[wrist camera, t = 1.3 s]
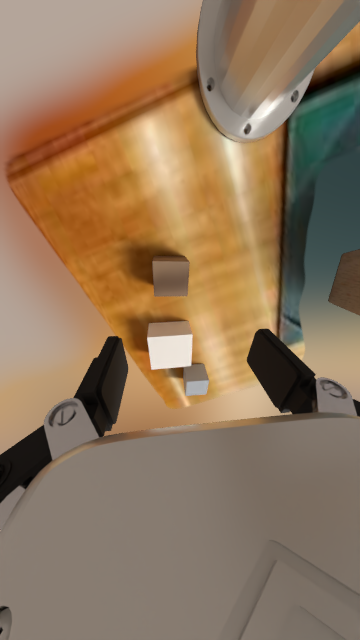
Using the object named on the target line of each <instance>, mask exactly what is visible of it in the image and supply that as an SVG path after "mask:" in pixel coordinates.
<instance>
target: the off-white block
mask: <svg viewBox="0 0 360 640" xmlns="http://www.w3.org/2000/svg"><path fill="white" fill-rule="evenodd" d="M147 340H148V347H149V354H150V361H151V368H152V370H153V369H164V368H176V367H187V366H191V356H192V331H191V328H190V325H189V321H177V322H161V323H149V327H148V335H147Z"/></svg>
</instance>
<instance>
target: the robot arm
mask: <svg viewBox="0 0 360 640" xmlns="http://www.w3.org/2000/svg"><path fill="white" fill-rule="evenodd" d="M359 21H360V0H203V3H202V7H201V12H200V19H199V25H198V32H197V50H196V58H197V75H198V80H199V86H200V92H201V95H202V98H203V102H204V105H205V108H206V110H207V112H208V114H209V116H210V118H211V120H212V122H213V123H214V124H215V126H216V127H217V128H218V130H219V131H220V132H222V133H223V134H224V135H225V136H226V137H228V138H230V139H232V140H234V141H236V142H242V143H249V142H255V141H258V140H260V139H263V138H265V137H266V136H268V135H269V134H271V133H272V132H274V131H275V130H276V129H277V128H278V127H279V126H280V125H282V124H283V122H284V121H285V120H286V119H287V118H288V117H289V116H290V115H291V113H292V112H293V111H294V109H295V108H296V106H297V105H298V103H299V102H300V100H301V98H302V96H303V94H304V92H305V90H306V89H307V87H308V85H309V82H310V80H311V77H312V75H313V72H314V69H315V67H316V66H317V65H318V64H319V63H320V62H321V61H322V60H323V59H324V58H325V57H326V56H327V55H328V54H329V53H330V52H331V51H332V50H333V49H334V47H335V46H336V45H337V44H338V43H339V42H340V41H341V40H342V39H343V38H344V37H345V36H346V35H347V34H348V33H349V32H350V31H351V30H352V29H353V28H354V26H355V25H356V24H357V23H358V22H359ZM207 88H209V89H210V91H208V89H207ZM244 131H245V132H246V134H245V133H244ZM247 362H248V364H249V366H250V368H251V369H252V371H253V372H254V374H255V375H256V377H257V379H258V380H259V382H260V383H261V385H262V387H263V388H264V390H265V391H266V393H267V395H268V396H269V398H270V399H271V401H272V403H273V404H274V405H275V407H277V408H278V409H279V411H280V412H281V413H286V412H290V411H291V412H292V415H281V416H271V417H260V418H251V419H241V420H231V421H222V422H213V423H203V424H193V425H184V426H176V427H167V428H157V429H149V430H141V431H134V432H126V433H119V434H114V435H108V436H104V433H105V431H111V428H112V425H113V424H115V423H116V421H117V416H118V412H119V408H120V403H121V399H122V395H123V391H124V386H125V382H126V378H127V374H128V364H127V360H126V356H125V351H124V347H123V343H122V339H121V338H119V337H118V336H110V337H108V338H107V340H106V342H105V344H104V346H103V348H102V350H101V352H100V354H99V356H98V357H97V358H94V359H93V361H92V363H91V365H90V367H89V369H88V371H87V373H86V375H85V376H84V378H83V381H82V382H81V384H80V386H79V388H78V390H77V392H76V394H75V396H74V398H70V399H66V400H64V401H62V402H60V403H58V404H57V405H55V406H54V407H53V408H52V409H51V410H50V411H49V413H48V414H47V415H46V417H45V420H44V425H43V426H41V427H40V428H38V429H37V430H36V431H34V432H33V433H31V434H30V435H28V436H27V437H25V438H24V439H22V440H21V441H20V442H18V443H17V444H15V445H14V446H12V447H11V448H10V449H8V450H7V451H5V452H4V453H2V454H1V455H0V530H1V531H0V640H360V402H358V401H356V400H354V399H352V396H351V394H350V392H349V391H348V390H347V389H346V388H345V387H344V386H342V385H341V384H339V383H338V382H336V381H334V380H331V379H328V378H322V377H321V378H318V379H317V380H316V379H315V378H314V376H315V373H314V372H313V371H312V370H311V369H309V368H308V367H307V366H306V365H305V364H304V363H303V362H302V361H301V360H300V359H299V358H298V357H297V356H296V355H295V354H294V353H293V352H292V351H291V350H290V349H289V348H288V347H287V346H286V345H285V344H284V343H283V342H282V341H280V340H279V339H278V338H277V337H276V336H275V335H274V334H273V333H272V332H271V331H270V330H269V329H259V330H258V331H257V332H256V333H255V336H254V339H253V342H252V345H251V348H250V351H249V354H248V357H247ZM103 436H104V437H103Z"/></svg>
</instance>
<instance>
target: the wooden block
mask: <svg viewBox="0 0 360 640" xmlns="http://www.w3.org/2000/svg"><path fill="white" fill-rule="evenodd" d="M328 301H329V302H330V303H332V304H334V305H337V306H339V307H341V308H344V309H346V310H348V311H351V312H353V313H355V314H358V315H360V249H358V250H355V251H351V252H348V253H344V254H343V255H342V256H341V260H340V263H339V266H338V269H337V273H336V276H335V279H334V283H333V286H332V289H331V293H330V296H329V300H328Z"/></svg>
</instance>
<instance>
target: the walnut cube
mask: <svg viewBox="0 0 360 640" xmlns="http://www.w3.org/2000/svg"><path fill="white" fill-rule="evenodd" d="M152 264H153V282H154V296H187V294H188V277H189V261H188V260H187V258H186V257H185V256H154V257H153V261H152Z"/></svg>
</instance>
